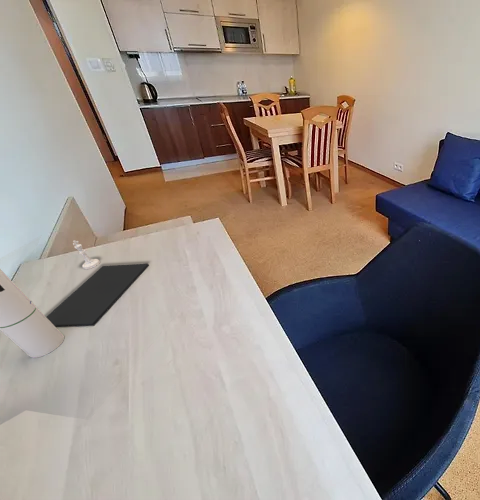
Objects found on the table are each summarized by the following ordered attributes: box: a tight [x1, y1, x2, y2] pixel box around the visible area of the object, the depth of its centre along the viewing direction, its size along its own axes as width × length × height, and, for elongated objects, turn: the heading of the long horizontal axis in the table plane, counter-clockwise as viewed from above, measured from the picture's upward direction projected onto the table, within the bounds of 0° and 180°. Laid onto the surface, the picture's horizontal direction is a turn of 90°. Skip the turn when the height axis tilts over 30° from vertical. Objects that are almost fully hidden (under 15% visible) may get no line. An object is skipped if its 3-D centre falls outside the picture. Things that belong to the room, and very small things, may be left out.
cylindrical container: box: [0, 268, 65, 359], centre depth 69 cm, size 7×7×25 cm
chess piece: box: [72, 240, 101, 270], centre depth 102 cm, size 5×5×10 cm
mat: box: [45, 263, 150, 328], centre depth 91 cm, size 16×26×1 cm, turn 179°
